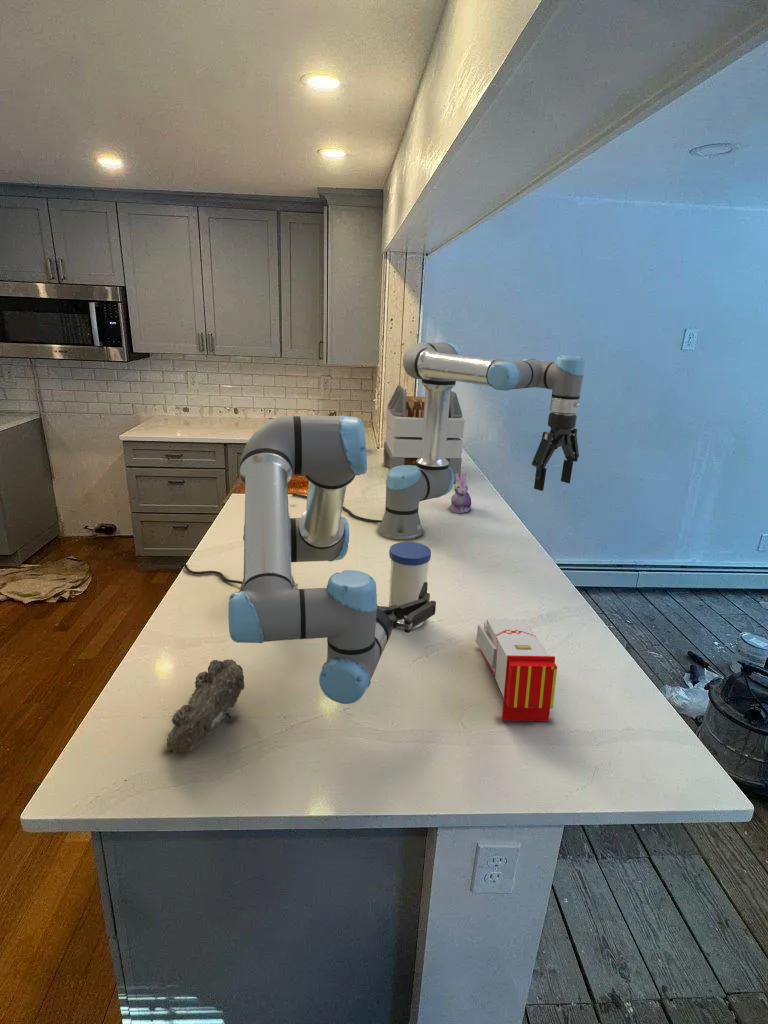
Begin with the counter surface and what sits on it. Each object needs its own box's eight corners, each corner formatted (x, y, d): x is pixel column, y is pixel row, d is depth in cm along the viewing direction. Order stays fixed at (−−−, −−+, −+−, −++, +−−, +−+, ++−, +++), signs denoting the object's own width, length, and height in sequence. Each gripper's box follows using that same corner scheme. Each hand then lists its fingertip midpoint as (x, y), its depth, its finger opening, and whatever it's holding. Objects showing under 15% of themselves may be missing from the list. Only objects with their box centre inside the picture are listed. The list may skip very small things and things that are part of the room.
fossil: (192, 660, 117) (244, 628, 112) (224, 691, 120) (276, 661, 115) (142, 746, 98) (202, 712, 93) (182, 779, 101) (242, 748, 96)
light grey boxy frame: (382, 463, 289) (386, 382, 275) (445, 464, 293) (451, 384, 279) (390, 482, 257) (394, 392, 243) (460, 483, 261) (468, 394, 247)
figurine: (457, 515, 220) (461, 478, 215) (443, 507, 229) (446, 471, 224) (477, 512, 224) (481, 475, 219) (462, 504, 233) (466, 469, 228)
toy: (523, 604, 135) (566, 662, 106) (518, 656, 138) (559, 727, 109) (472, 603, 135) (501, 661, 105) (468, 655, 138) (496, 726, 108)
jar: (380, 618, 145) (383, 550, 139) (404, 606, 151) (409, 541, 145) (406, 633, 139) (411, 562, 133) (431, 620, 145) (436, 552, 139)
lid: (380, 555, 139) (380, 548, 138) (408, 545, 146) (409, 538, 145) (411, 569, 132) (411, 562, 132) (439, 557, 139) (439, 551, 139)
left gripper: (300, 642, 103) (336, 590, 123) (435, 665, 98) (451, 608, 118) (300, 605, 101) (337, 559, 120) (438, 627, 96) (454, 575, 115)
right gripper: (548, 419, 148) (537, 496, 155) (598, 411, 163) (586, 482, 171) (525, 414, 153) (515, 489, 160) (575, 407, 169) (564, 476, 176)
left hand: (393, 583), depth 119 cm, fingers open, 13 cm apart
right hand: (552, 485), depth 166 cm, fingers open, 13 cm apart
